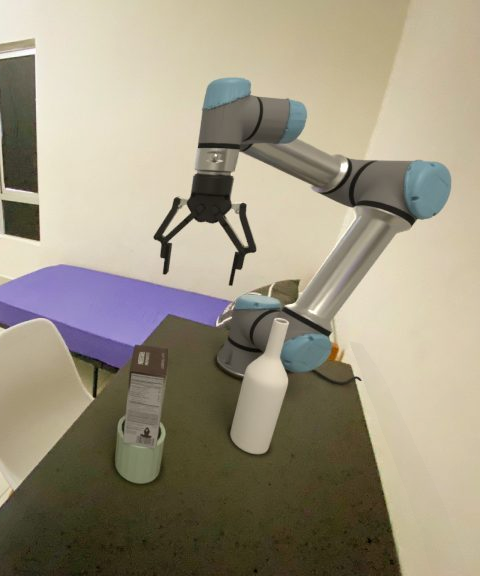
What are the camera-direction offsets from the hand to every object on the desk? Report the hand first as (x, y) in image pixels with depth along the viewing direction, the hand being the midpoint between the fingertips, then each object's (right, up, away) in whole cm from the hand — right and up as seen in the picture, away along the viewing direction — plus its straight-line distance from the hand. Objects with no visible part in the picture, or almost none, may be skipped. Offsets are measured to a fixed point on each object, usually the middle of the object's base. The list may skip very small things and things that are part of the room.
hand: (197, 278), depth 71 cm
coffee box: (-13, -30, -7) cm, 33 cm away
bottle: (+13, -37, +4) cm, 39 cm away
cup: (-13, -38, -3) cm, 40 cm away
